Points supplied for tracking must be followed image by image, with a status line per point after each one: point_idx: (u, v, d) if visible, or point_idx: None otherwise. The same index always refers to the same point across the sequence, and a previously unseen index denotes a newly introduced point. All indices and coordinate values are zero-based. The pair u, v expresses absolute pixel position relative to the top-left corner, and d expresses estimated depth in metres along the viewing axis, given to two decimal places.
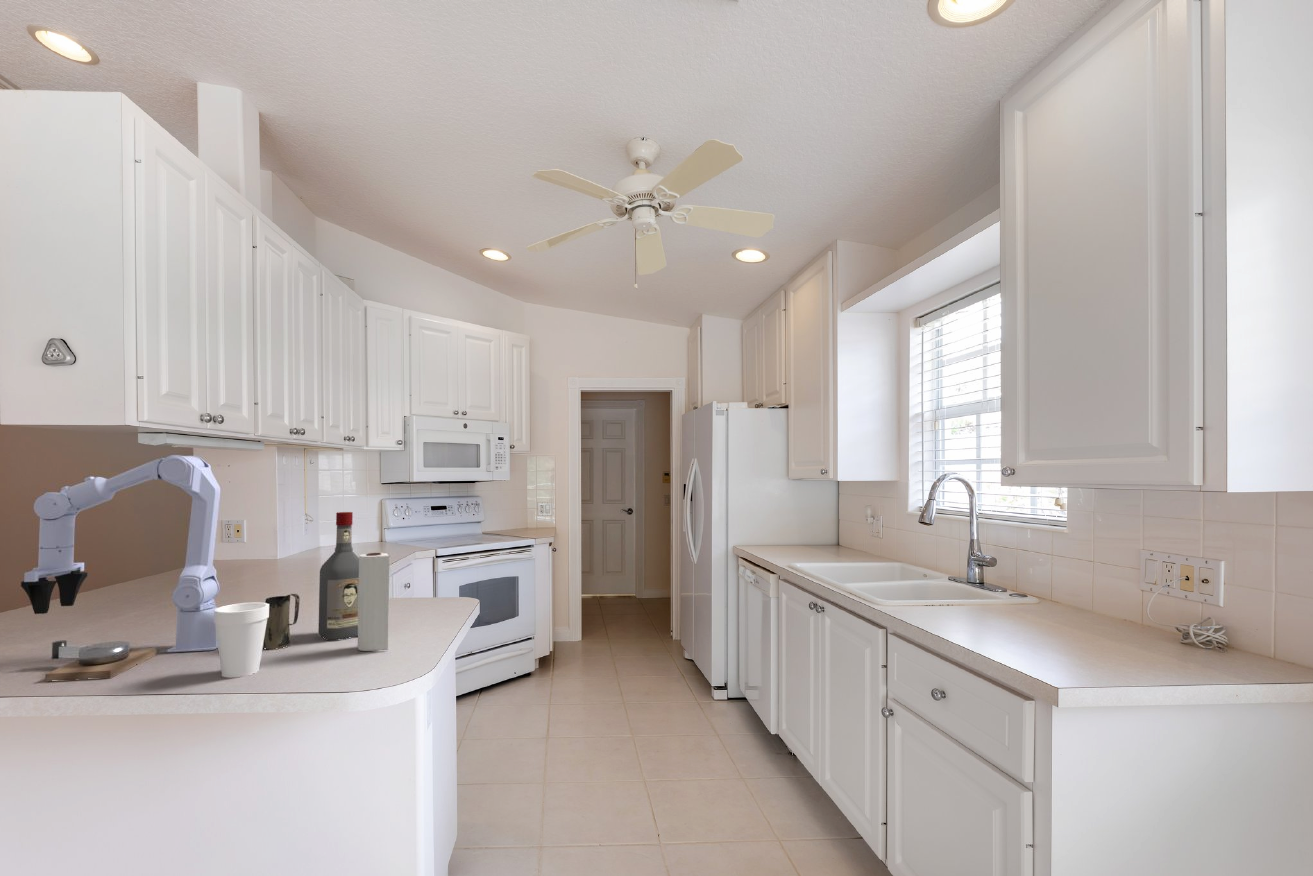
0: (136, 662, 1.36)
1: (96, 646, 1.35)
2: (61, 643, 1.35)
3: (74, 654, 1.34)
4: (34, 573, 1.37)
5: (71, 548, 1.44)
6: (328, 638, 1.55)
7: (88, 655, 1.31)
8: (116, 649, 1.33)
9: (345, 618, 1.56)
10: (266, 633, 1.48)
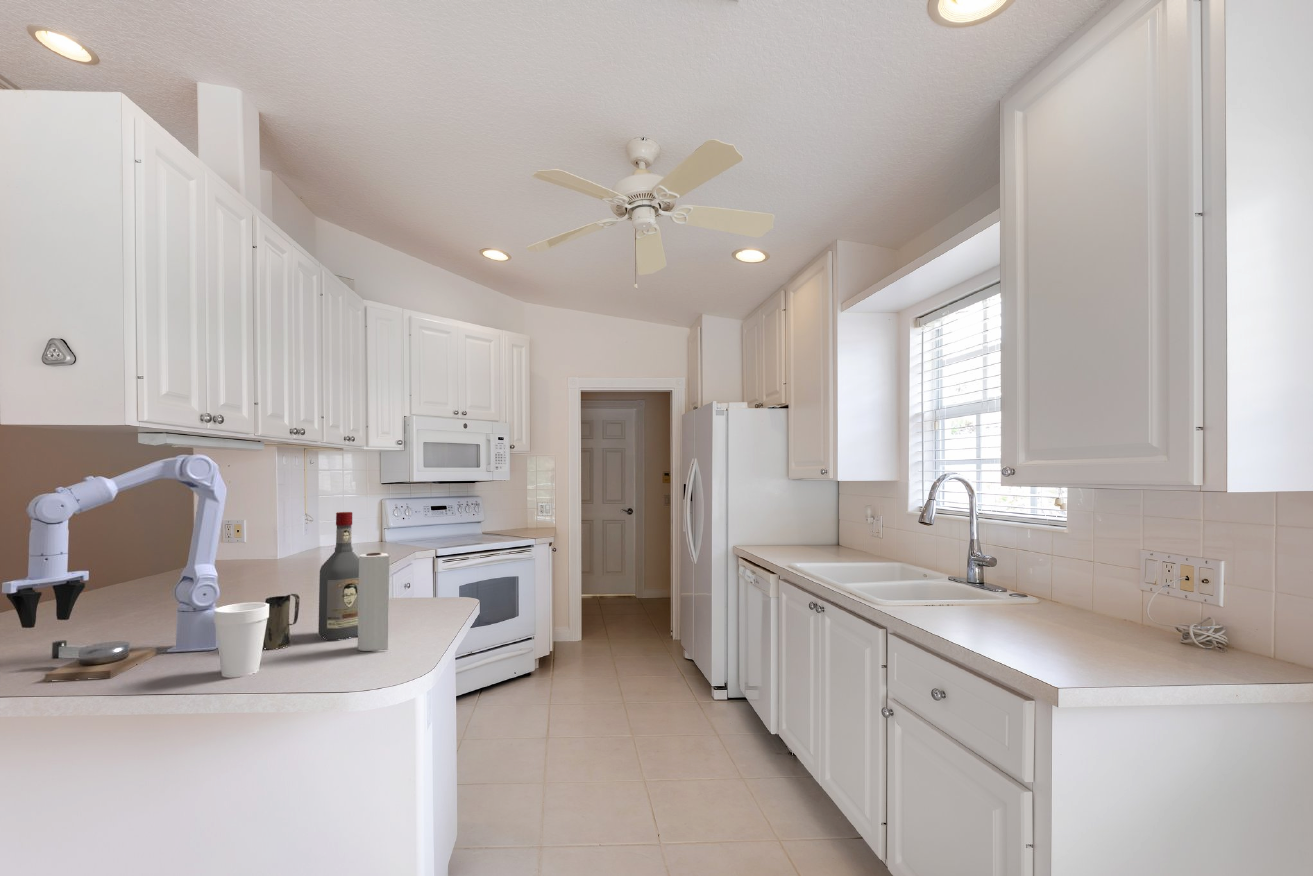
0: (136, 662, 1.36)
1: (96, 646, 1.35)
2: (61, 643, 1.35)
3: (74, 654, 1.34)
4: (10, 584, 1.22)
5: (61, 556, 1.29)
6: (328, 638, 1.55)
7: (88, 655, 1.31)
8: (116, 649, 1.33)
9: (345, 618, 1.56)
10: (266, 633, 1.48)
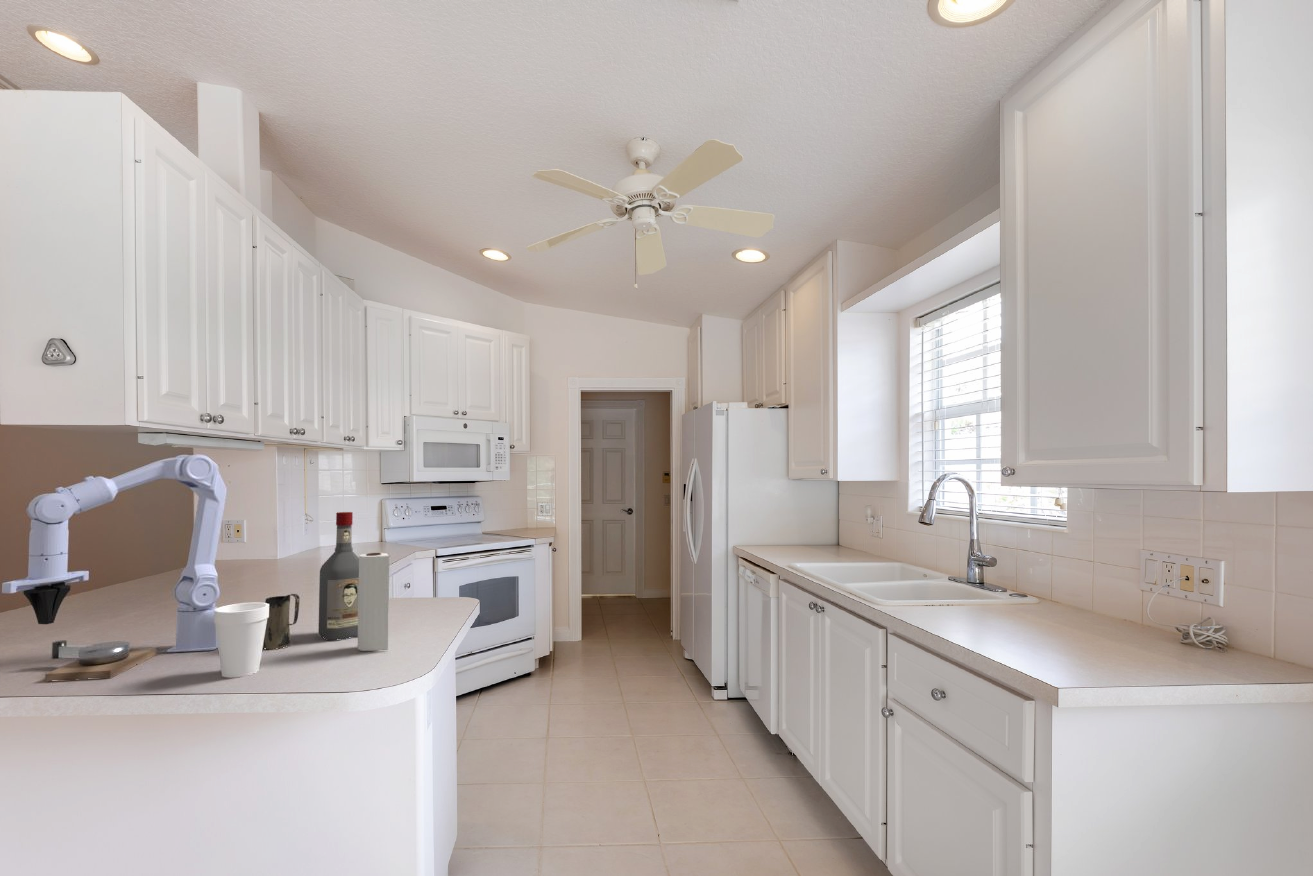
0: (136, 662, 1.36)
1: (96, 646, 1.35)
2: (61, 643, 1.35)
3: (74, 654, 1.34)
4: (10, 584, 1.22)
5: (61, 556, 1.29)
6: (328, 638, 1.55)
7: (88, 655, 1.31)
8: (116, 649, 1.33)
9: (345, 618, 1.56)
10: (266, 633, 1.48)
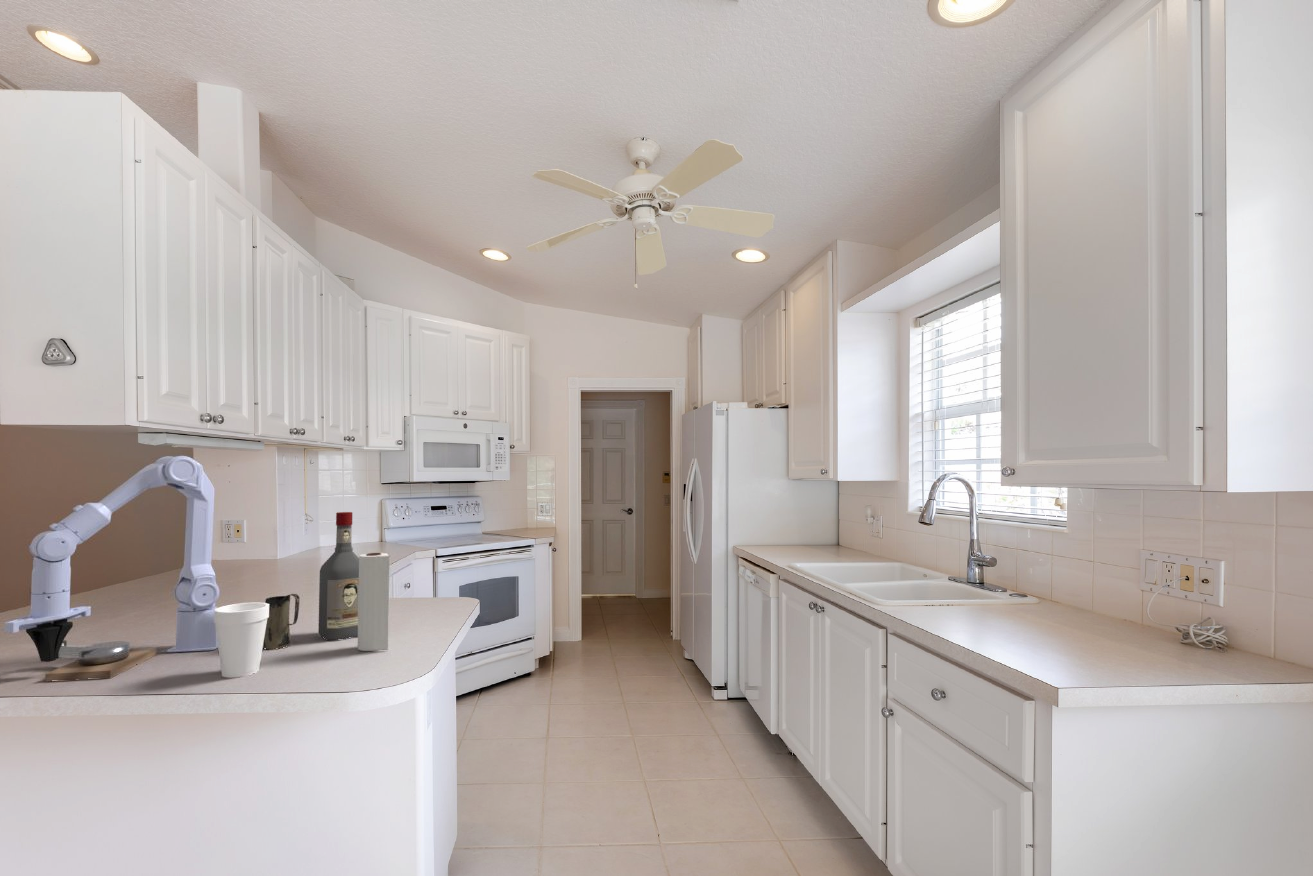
0: (136, 662, 1.36)
1: (96, 646, 1.35)
2: None
3: (74, 654, 1.34)
4: (13, 623, 1.23)
5: (63, 593, 1.30)
6: (328, 638, 1.55)
7: (88, 655, 1.31)
8: (116, 649, 1.33)
9: (345, 618, 1.56)
10: (266, 633, 1.48)
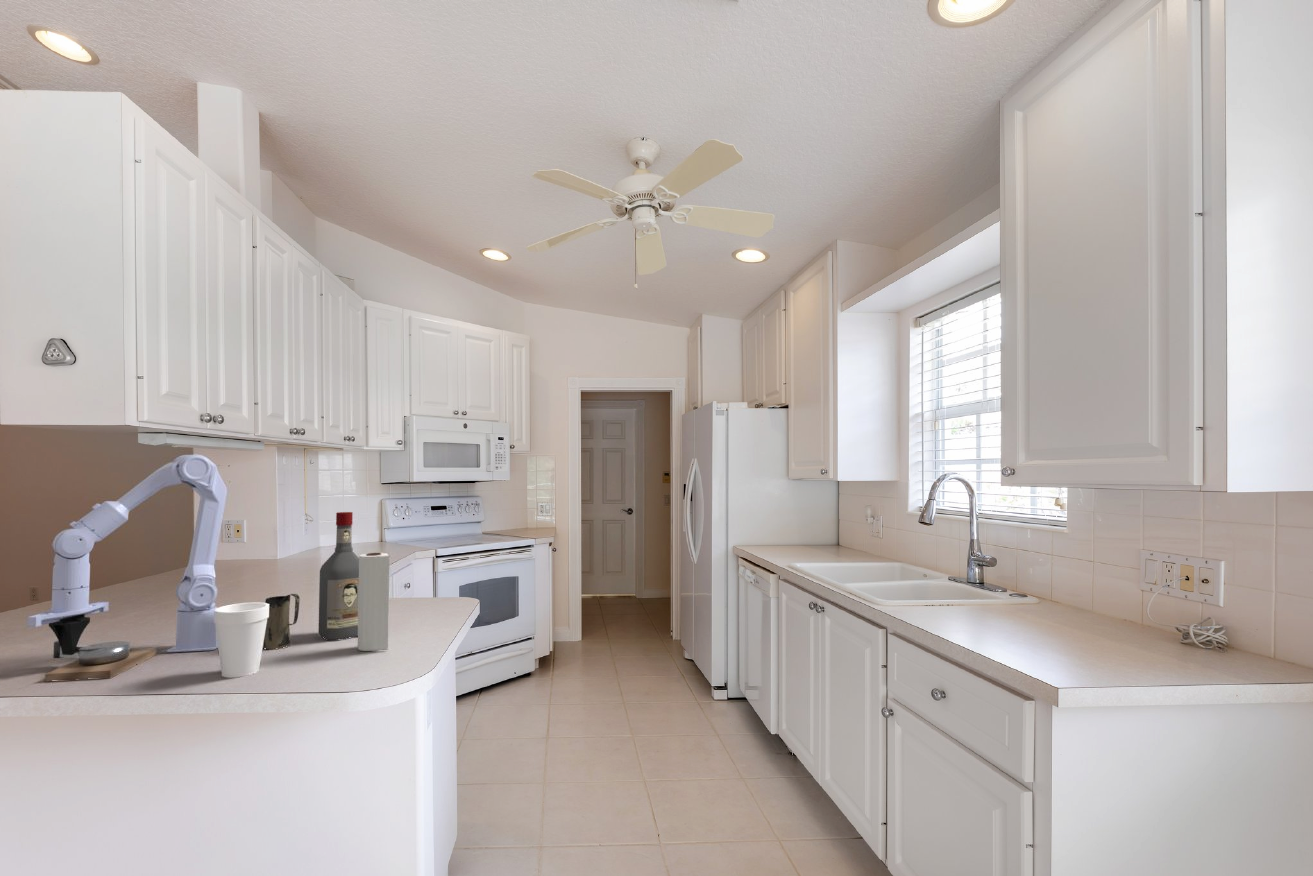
0: (136, 662, 1.36)
1: (96, 646, 1.35)
2: None
3: (75, 653, 1.35)
4: (35, 618, 1.27)
5: (83, 589, 1.34)
6: (328, 638, 1.55)
7: (88, 655, 1.31)
8: (115, 649, 1.33)
9: (345, 618, 1.56)
10: (266, 633, 1.48)
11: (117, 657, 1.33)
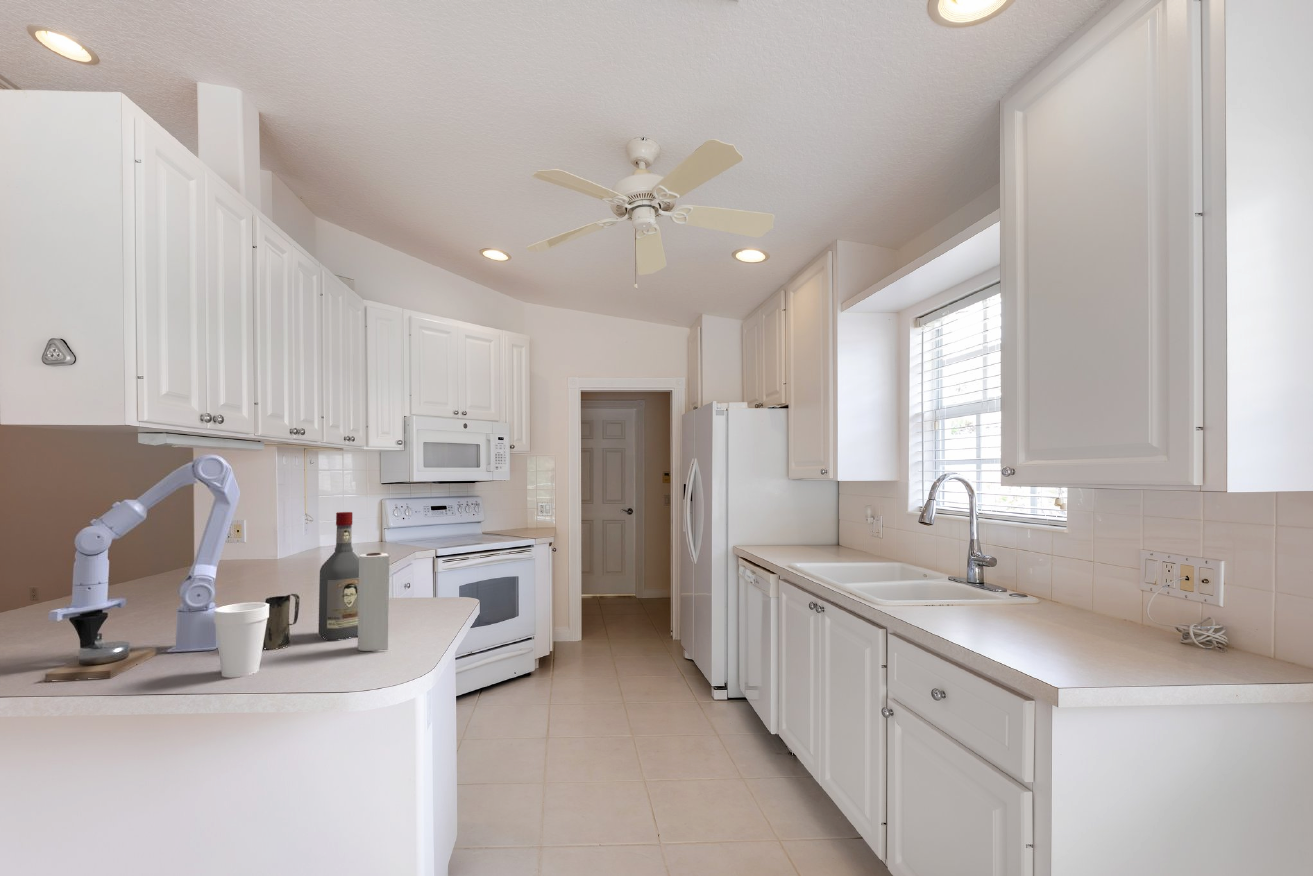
0: (136, 662, 1.36)
1: (102, 645, 1.36)
2: None
3: None
4: (56, 612, 1.31)
5: (102, 585, 1.38)
6: (328, 638, 1.55)
7: (79, 654, 1.31)
8: (100, 652, 1.31)
9: (345, 618, 1.56)
10: (266, 633, 1.48)
11: (102, 660, 1.32)
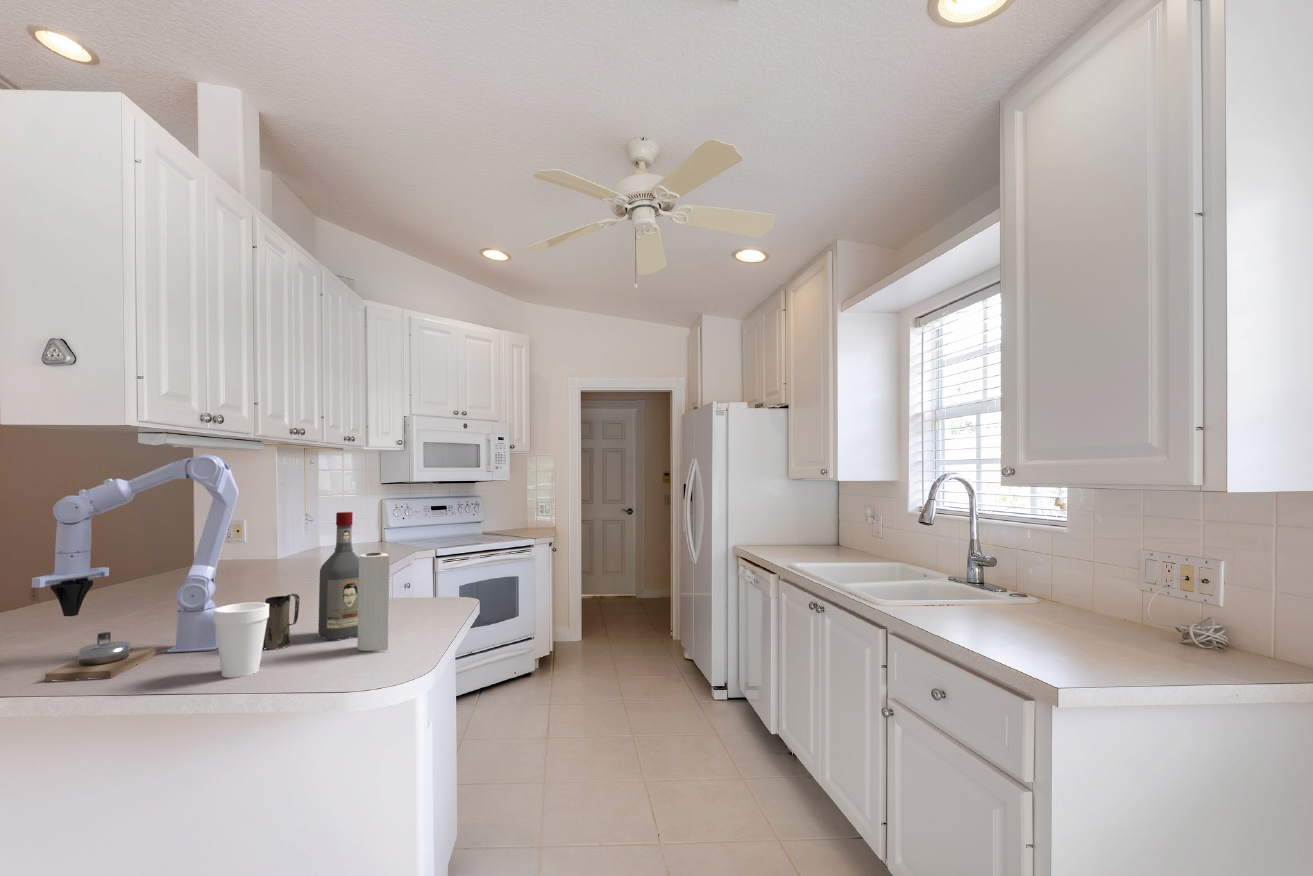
0: (136, 662, 1.36)
1: (103, 644, 1.36)
2: (101, 635, 1.41)
3: None
4: (39, 579, 1.33)
5: (85, 553, 1.40)
6: (328, 638, 1.55)
7: None
8: (96, 652, 1.31)
9: (345, 618, 1.56)
10: (266, 633, 1.48)
11: (98, 660, 1.31)
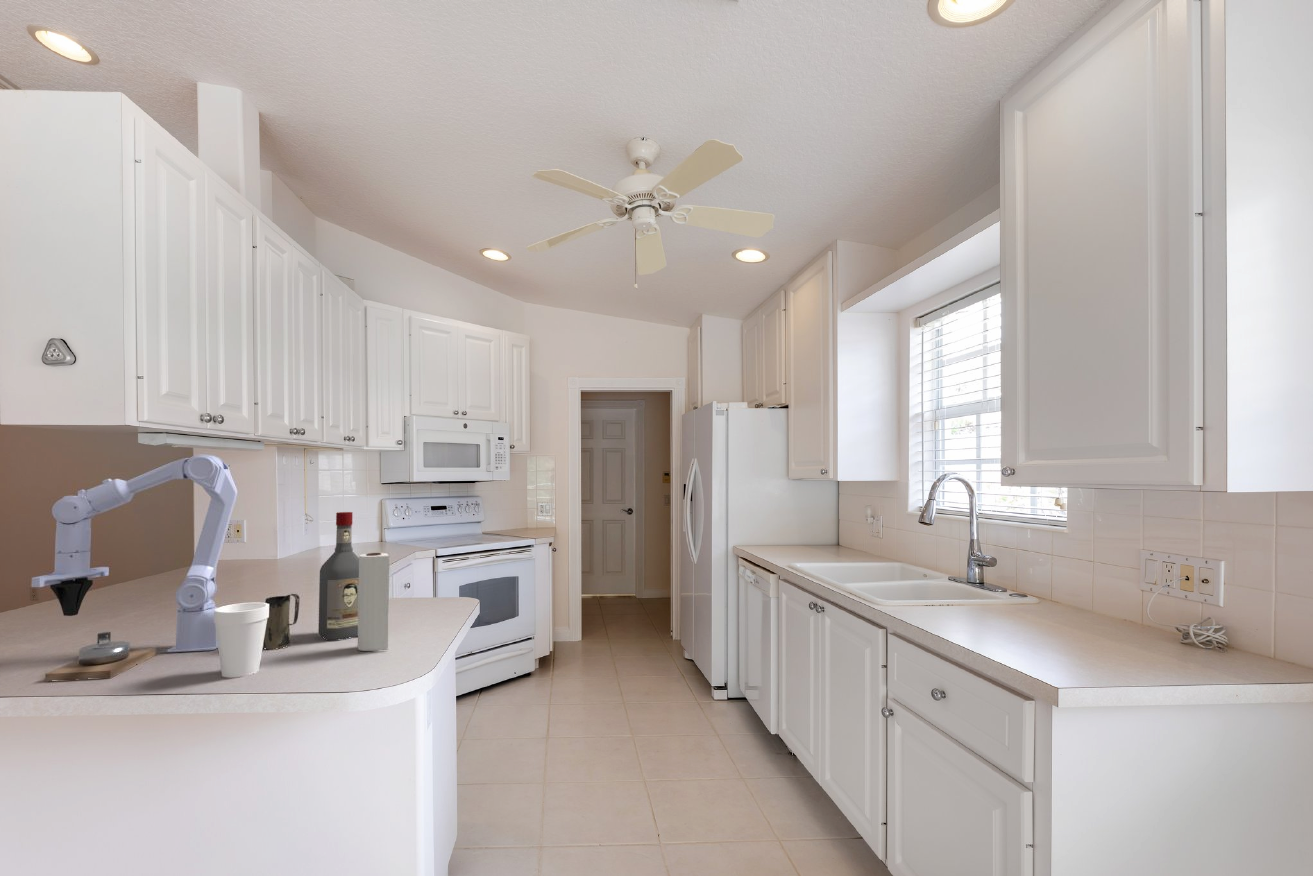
0: (136, 662, 1.36)
1: (103, 644, 1.36)
2: (101, 635, 1.41)
3: None
4: (39, 578, 1.34)
5: (84, 553, 1.41)
6: (328, 638, 1.55)
7: None
8: (96, 652, 1.31)
9: (345, 618, 1.56)
10: (266, 633, 1.48)
11: (98, 660, 1.31)
